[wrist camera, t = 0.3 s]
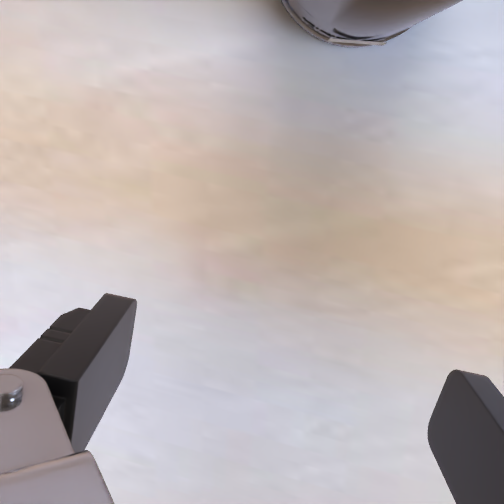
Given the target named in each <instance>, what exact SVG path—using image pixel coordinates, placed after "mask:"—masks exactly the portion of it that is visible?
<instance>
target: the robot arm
mask: <svg viewBox="0 0 504 504" xmlns="http://www.w3.org/2000/svg"><path fill="white" fill-rule="evenodd" d="M461 1H462V0H281V2H282V4H283V6H284V7H285V9H286V10H287V12H288V13H289V14H290V16H291V17H292V18H293V19H294V20H295V22H296V23H297V24H298V25H299V26H301V27H302V28H303V29H304V30H305V31H307V32H308V33H309V34H311V35H312V36H314V37H316V38H318V39H320V40H322V41H324V42H327V43H330V44H333V45H337V46H342V47H366V46H371V45H384V44H386V43H383V42H385V41H387V40H390V39H392V38H394V37H396V36H398V35H400V34H401V33H403V32H405V31H406V30H408V29H409V28H411V27H412V26H414V25H416V24H418V23H419V22H421V21H423V20H425V19H427V18H429V17H431V16H433V15H435V14H437V13H439V12H441V11H443V10H445V9H447V8H449V7H451V6H453V5H455V4H457V3H459V2H461ZM136 308H137V301H136V299H131V298H127V297H122V296H118V295H113V294H108V293H106V294H104V295H103V297H102V298H101V299H100V300H99V301H98V302H97V304H96V305H95V306H94V307H93V308H92V309H91V310H88V309H83V308H77V309H75V310H72V311H70V312H68V313H65V314H63V315H61V316H60V317H59V318H58V319H57V320H56V321H55V322H54V323H53V324H52V325H51V326H50V329H47V330H46V331H45V332H44V333H43V334H42V335H41V337H40V339H39V338H38V339H37V340H36V341H35V342H34V343H33V344H32V345H31V346H30V347H29V348H28V350H27V351H26V352H25V353H24V354H23V355H22V356H21V357H20V358H19V359H18V360H17V361H16V362H15V363H14V364H13V365H12V366H11V367H10V368H8V369H0V504H114V502H113V499H112V497H111V495H110V493H109V490H108V488H107V486H106V484H105V481H104V479H103V477H102V474H101V472H100V470H99V468H98V465H97V463H96V461H95V459H94V457H93V455H92V454H91V453H90V452H89V451H88V450H85V448H86V446H87V444H88V442H89V440H90V438H91V437H92V435H93V433H94V431H95V429H96V427H97V425H98V423H99V422H100V420H101V418H102V416H103V414H104V412H105V410H106V408H107V407H108V405H109V403H110V401H111V399H112V397H113V395H114V393H115V392H116V390H117V388H118V386H119V384H120V382H121V380H122V378H123V376H124V373H125V370H126V367H127V363H128V359H129V353H130V347H131V340H132V334H133V328H134V321H135V315H136ZM428 442H429V445H430V448H431V450H432V452H433V454H434V457H435V459H436V461H437V463H438V465H439V467H440V470H441V472H442V474H443V476H444V478H445V480H446V482H447V485H448V487H449V489H450V491H451V493H452V495H453V498H454V500H455V502H456V504H504V397H503V395H502V394H501V393H500V392H499V390H498V389H497V388H496V387H495V385H494V384H493V383H492V382H491V380H490V379H489V378H488V377H487V376H484V375H479V374H475V373H470V372H465V371H461V370H453V371H452V372H451V373H450V374H449V375H448V377H447V379H446V382H445V384H444V386H443V389H442V391H441V394H440V396H439V399H438V401H437V403H436V406H435V408H434V411H433V413H432V416H431V418H430V421H429V425H428Z"/></svg>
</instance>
